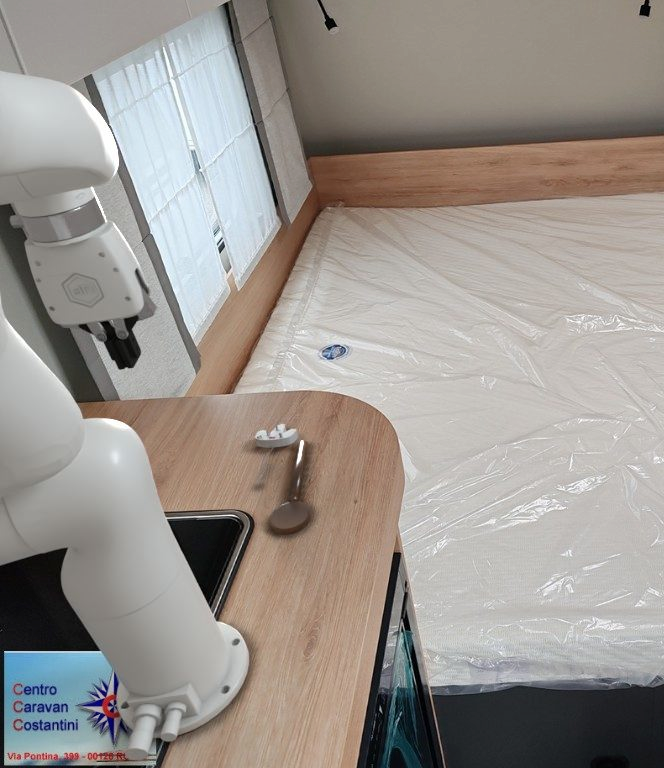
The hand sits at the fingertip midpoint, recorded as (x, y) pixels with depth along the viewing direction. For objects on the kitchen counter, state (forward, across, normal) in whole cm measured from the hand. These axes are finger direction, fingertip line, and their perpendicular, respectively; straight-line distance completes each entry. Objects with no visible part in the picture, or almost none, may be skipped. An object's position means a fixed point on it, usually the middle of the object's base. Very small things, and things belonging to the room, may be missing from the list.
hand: (129, 362), depth 91 cm
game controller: (+19, +11, +2) cm, 23 cm away
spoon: (+19, +16, -5) cm, 25 cm away
